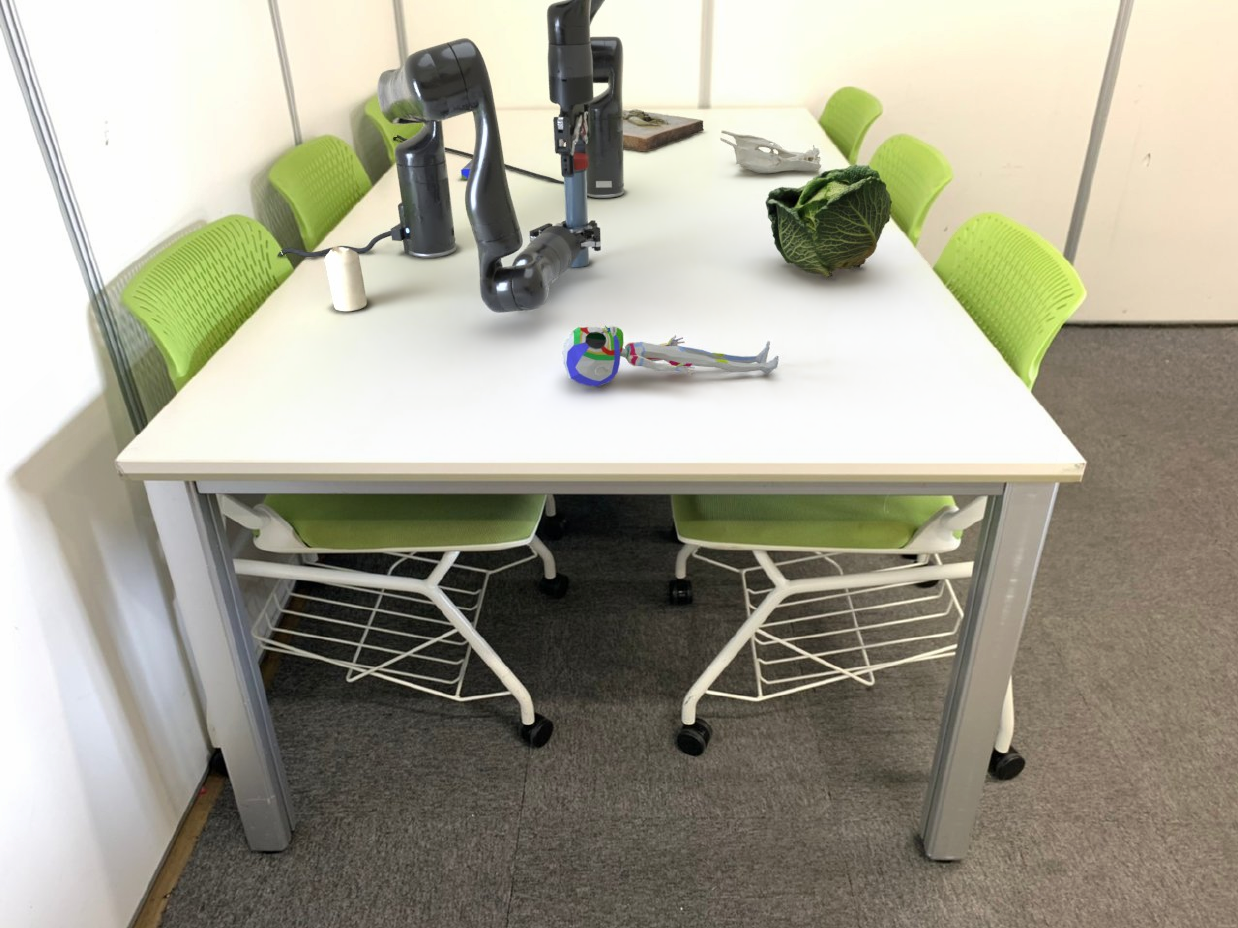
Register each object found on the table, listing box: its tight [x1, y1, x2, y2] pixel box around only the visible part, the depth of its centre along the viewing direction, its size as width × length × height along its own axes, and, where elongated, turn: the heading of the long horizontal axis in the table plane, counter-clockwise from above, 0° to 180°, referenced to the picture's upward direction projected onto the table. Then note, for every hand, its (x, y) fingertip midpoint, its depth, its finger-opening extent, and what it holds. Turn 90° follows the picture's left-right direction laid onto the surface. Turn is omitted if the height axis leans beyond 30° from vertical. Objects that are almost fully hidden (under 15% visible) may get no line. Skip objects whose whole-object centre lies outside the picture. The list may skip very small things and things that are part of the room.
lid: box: [573, 153, 588, 170], centre depth 159 cm, size 5×5×2 cm
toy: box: [561, 325, 780, 387], centre depth 127 cm, size 10×8×30 cm
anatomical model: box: [720, 130, 822, 174], centre depth 222 cm, size 15×9×25 cm
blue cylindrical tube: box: [563, 169, 590, 268], centre depth 164 cm, size 4×4×19 cm
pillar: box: [460, 159, 472, 180], centre depth 228 cm, size 2×2×20 cm
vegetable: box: [765, 164, 893, 278], centre depth 160 cm, size 20×19×20 cm
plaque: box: [623, 108, 705, 152], centre depth 257 cm, size 30×7×30 cm
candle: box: [324, 246, 368, 312], centre depth 150 cm, size 6×6×10 cm
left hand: (581, 224), depth 168 cm, fingers closed on blue cylindrical tube, 4 cm apart
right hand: (574, 171), depth 160 cm, fingers open, 7 cm apart
